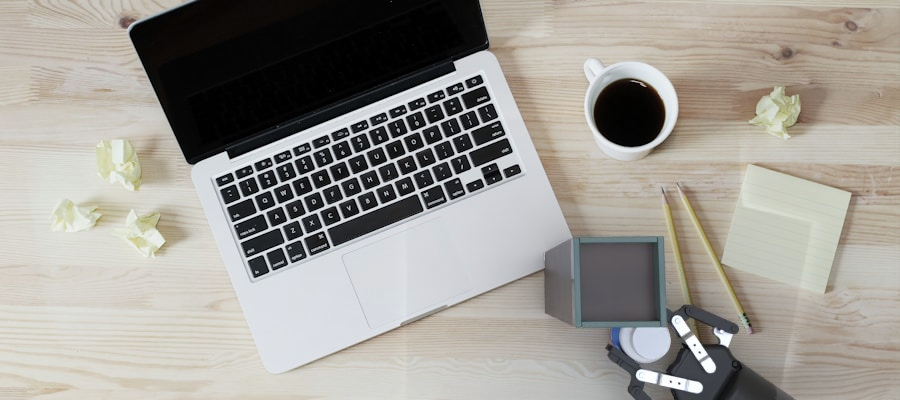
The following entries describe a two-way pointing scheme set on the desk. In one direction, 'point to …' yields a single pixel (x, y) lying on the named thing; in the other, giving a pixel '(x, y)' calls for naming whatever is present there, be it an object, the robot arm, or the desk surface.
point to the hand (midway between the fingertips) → (623, 323)
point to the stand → (601, 282)
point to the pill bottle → (641, 342)
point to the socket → (658, 282)
